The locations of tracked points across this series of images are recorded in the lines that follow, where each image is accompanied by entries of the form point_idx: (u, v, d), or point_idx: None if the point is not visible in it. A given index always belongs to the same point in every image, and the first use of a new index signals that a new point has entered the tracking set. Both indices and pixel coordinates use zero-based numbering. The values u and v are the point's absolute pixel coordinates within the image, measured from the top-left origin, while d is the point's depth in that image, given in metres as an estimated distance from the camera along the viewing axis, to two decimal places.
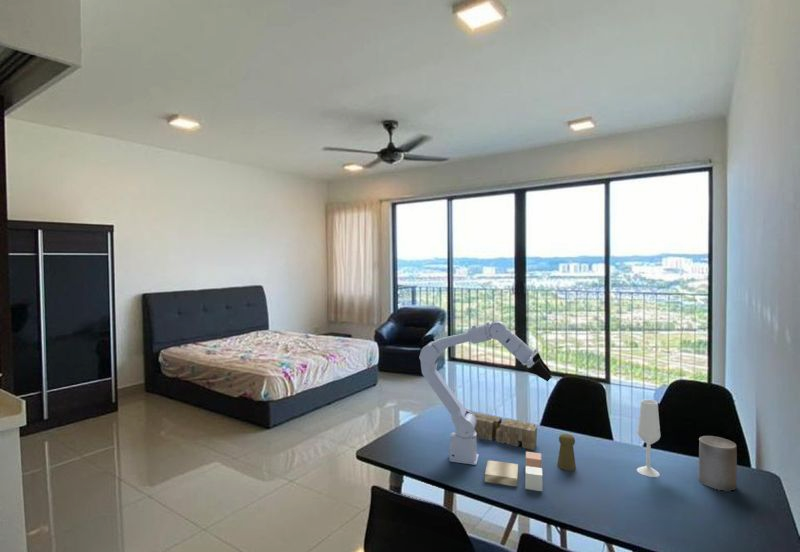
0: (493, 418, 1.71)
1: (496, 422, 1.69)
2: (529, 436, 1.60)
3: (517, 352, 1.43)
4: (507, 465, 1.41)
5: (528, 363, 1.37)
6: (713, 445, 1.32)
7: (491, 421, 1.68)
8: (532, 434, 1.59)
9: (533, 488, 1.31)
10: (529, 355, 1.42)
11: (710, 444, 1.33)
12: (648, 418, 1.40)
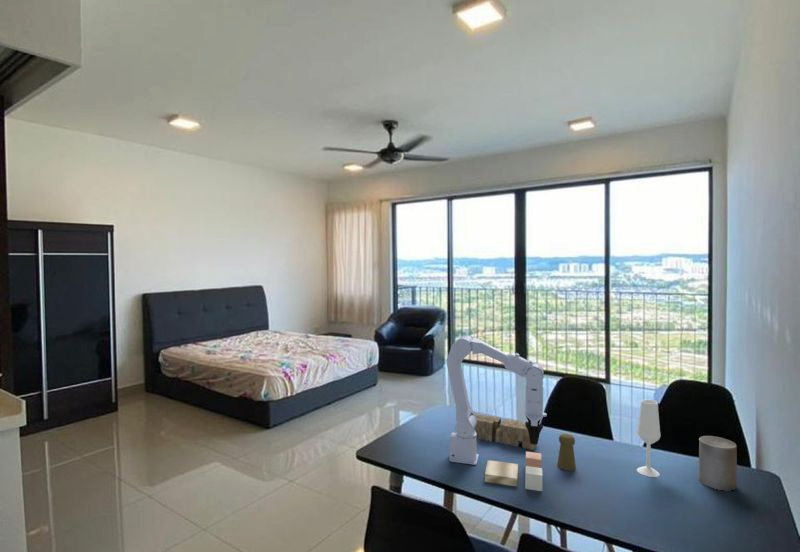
0: (492, 418, 1.71)
1: (496, 422, 1.68)
2: None
3: (531, 404, 1.41)
4: (507, 465, 1.41)
5: (533, 421, 1.36)
6: (713, 445, 1.32)
7: (491, 421, 1.68)
8: None
9: (533, 488, 1.31)
10: (537, 414, 1.40)
11: (710, 444, 1.33)
12: (648, 418, 1.40)
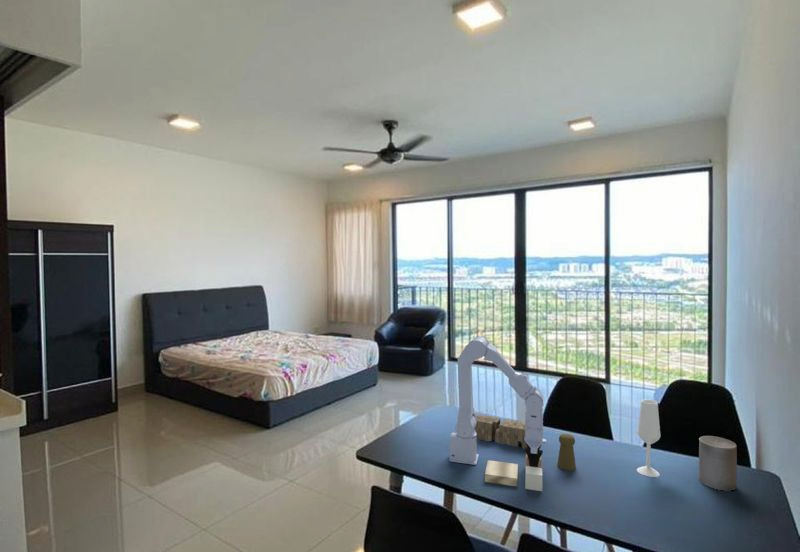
0: (492, 419, 1.70)
1: (495, 423, 1.68)
2: None
3: (531, 430, 1.41)
4: (507, 465, 1.41)
5: (533, 449, 1.37)
6: (713, 445, 1.32)
7: (490, 422, 1.67)
8: None
9: (533, 488, 1.31)
10: (537, 441, 1.41)
11: (710, 444, 1.33)
12: (648, 418, 1.40)
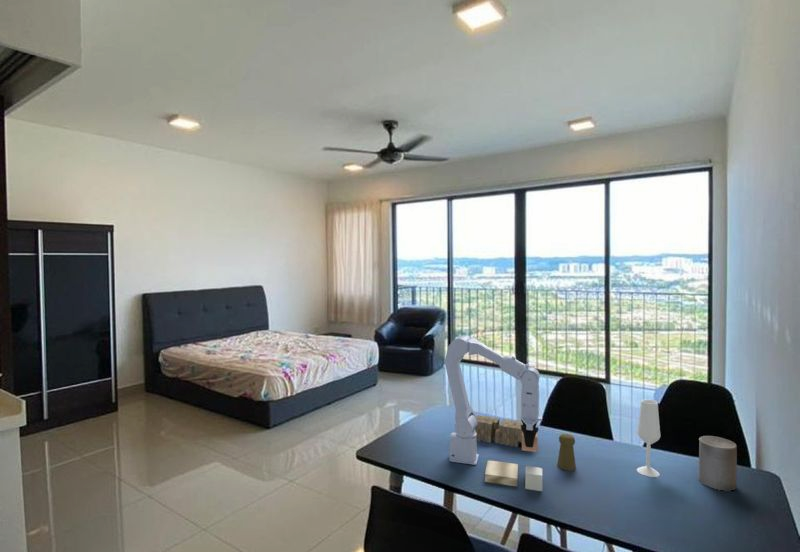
0: (491, 419, 1.70)
1: (495, 423, 1.67)
2: None
3: (527, 407, 1.40)
4: (507, 465, 1.41)
5: (528, 426, 1.36)
6: (713, 445, 1.32)
7: (490, 422, 1.67)
8: None
9: (533, 488, 1.31)
10: (533, 418, 1.40)
11: (710, 444, 1.33)
12: (648, 418, 1.40)
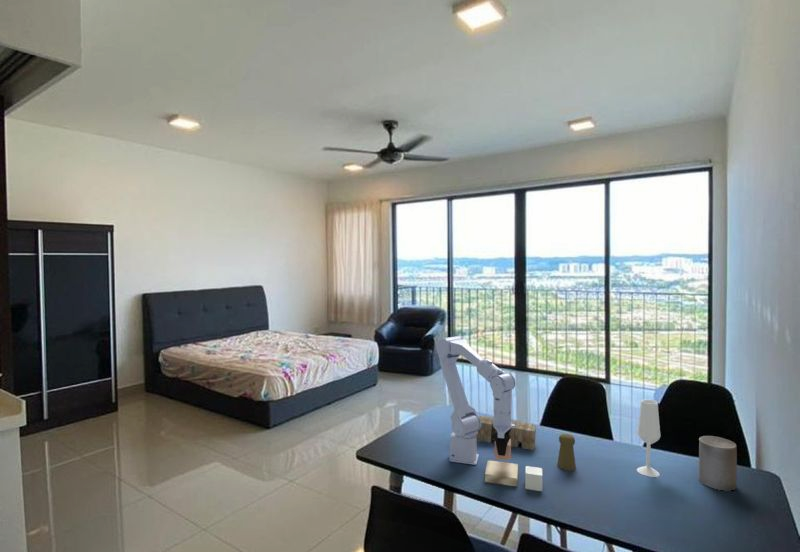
0: (491, 419, 1.70)
1: None
2: (529, 436, 1.59)
3: (499, 414, 1.36)
4: (507, 465, 1.41)
5: (500, 433, 1.32)
6: (713, 445, 1.32)
7: (490, 423, 1.66)
8: (532, 434, 1.59)
9: (533, 488, 1.31)
10: (505, 426, 1.36)
11: (710, 444, 1.33)
12: (648, 418, 1.40)
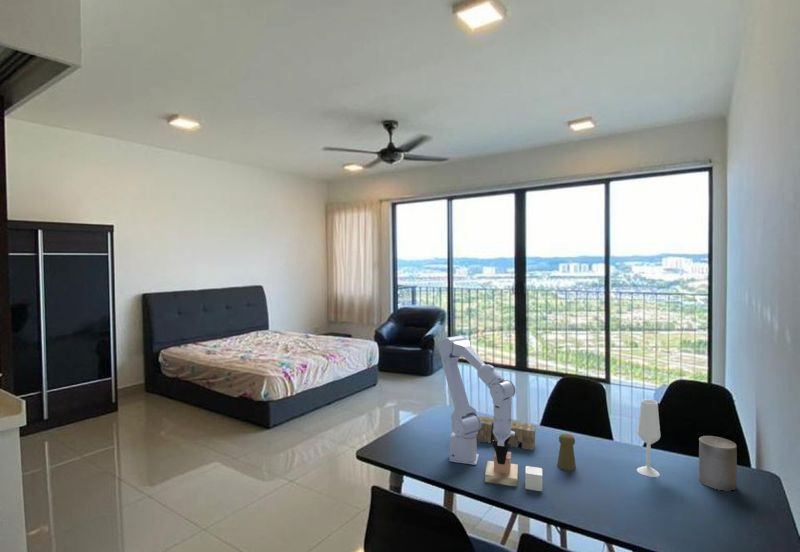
0: (490, 420, 1.69)
1: None
2: (529, 436, 1.59)
3: (499, 422, 1.36)
4: None
5: (499, 441, 1.32)
6: (713, 445, 1.32)
7: (489, 423, 1.66)
8: (532, 434, 1.59)
9: (533, 488, 1.31)
10: (505, 433, 1.36)
11: (710, 444, 1.33)
12: (648, 418, 1.40)
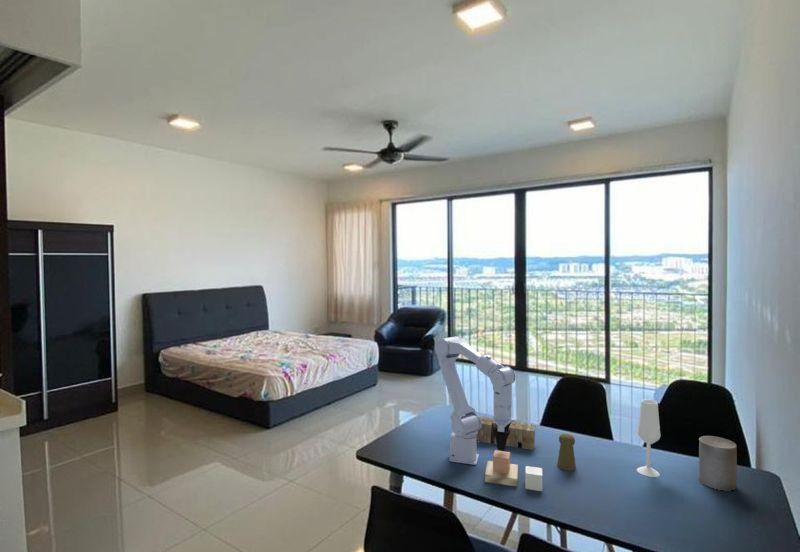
0: (490, 420, 1.69)
1: (494, 424, 1.67)
2: (529, 436, 1.59)
3: (499, 408, 1.36)
4: None
5: (500, 427, 1.32)
6: (713, 445, 1.32)
7: (489, 423, 1.66)
8: (532, 434, 1.59)
9: (533, 488, 1.31)
10: (505, 419, 1.36)
11: (710, 444, 1.33)
12: (648, 418, 1.40)
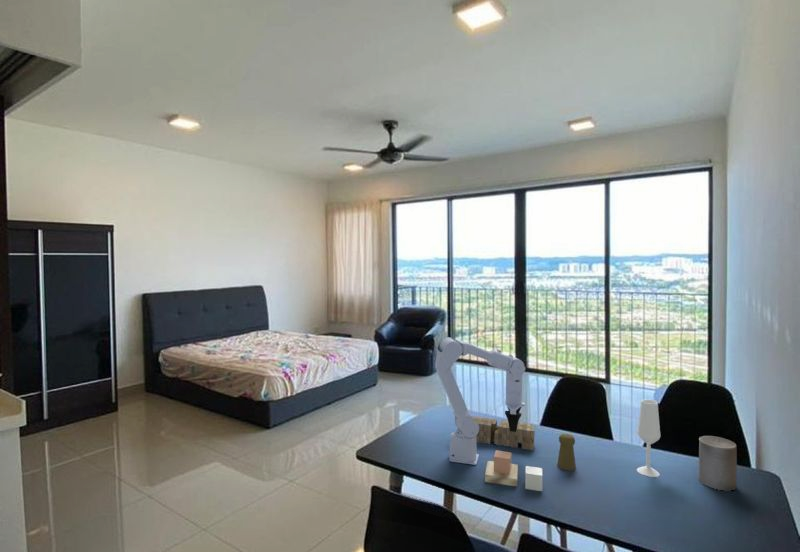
0: (489, 420, 1.69)
1: (493, 424, 1.66)
2: (529, 436, 1.59)
3: (511, 394, 1.51)
4: None
5: (512, 410, 1.47)
6: (713, 445, 1.32)
7: (489, 424, 1.65)
8: (532, 434, 1.59)
9: (533, 488, 1.31)
10: (516, 404, 1.51)
11: (710, 444, 1.33)
12: (648, 418, 1.40)
